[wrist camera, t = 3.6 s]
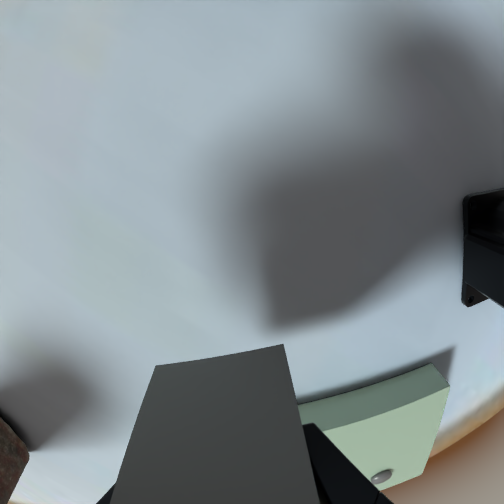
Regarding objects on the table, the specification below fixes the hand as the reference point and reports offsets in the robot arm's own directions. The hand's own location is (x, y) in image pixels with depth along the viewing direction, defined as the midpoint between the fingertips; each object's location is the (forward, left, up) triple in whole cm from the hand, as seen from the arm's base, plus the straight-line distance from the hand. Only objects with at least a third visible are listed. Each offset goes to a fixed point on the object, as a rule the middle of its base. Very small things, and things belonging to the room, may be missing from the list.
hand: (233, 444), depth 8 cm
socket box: (-2, +11, -7) cm, 14 cm away
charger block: (0, 0, -2) cm, 2 cm away
